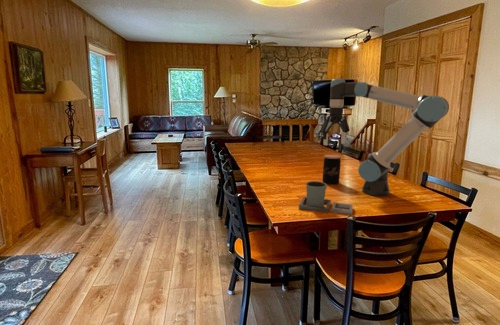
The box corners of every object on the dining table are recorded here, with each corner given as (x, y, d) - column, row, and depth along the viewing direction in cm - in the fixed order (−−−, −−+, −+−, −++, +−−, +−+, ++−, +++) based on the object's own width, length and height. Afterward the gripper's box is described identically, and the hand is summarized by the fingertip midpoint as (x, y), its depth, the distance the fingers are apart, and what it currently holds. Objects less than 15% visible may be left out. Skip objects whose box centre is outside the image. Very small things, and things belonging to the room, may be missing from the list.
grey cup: (322, 202, 167) (323, 181, 164) (327, 209, 157) (328, 186, 154) (303, 202, 166) (304, 181, 164) (307, 209, 156) (308, 186, 154)
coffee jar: (321, 184, 202) (322, 156, 199) (323, 180, 212) (325, 154, 209) (338, 185, 199) (340, 158, 195) (339, 181, 209) (341, 155, 205)
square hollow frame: (330, 203, 166) (331, 199, 165) (328, 212, 152) (328, 208, 152) (303, 200, 170) (303, 196, 170) (298, 209, 157) (299, 205, 157)
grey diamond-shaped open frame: (352, 208, 159) (352, 204, 158) (351, 214, 150) (352, 210, 149) (333, 206, 162) (333, 202, 161) (331, 212, 153) (332, 208, 152)
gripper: (347, 106, 187) (345, 142, 191) (314, 107, 175) (313, 144, 180) (357, 107, 180) (354, 143, 185) (324, 107, 169) (322, 146, 173)
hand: (334, 144), depth 182 cm, fingers open, 13 cm apart
